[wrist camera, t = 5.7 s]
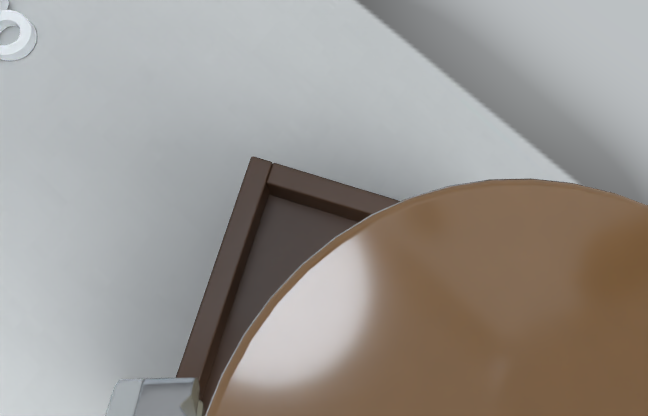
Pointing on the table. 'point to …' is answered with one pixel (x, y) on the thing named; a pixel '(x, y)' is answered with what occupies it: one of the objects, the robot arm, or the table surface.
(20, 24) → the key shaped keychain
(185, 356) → the tray
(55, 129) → the table surface
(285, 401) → the cylindrical canister
